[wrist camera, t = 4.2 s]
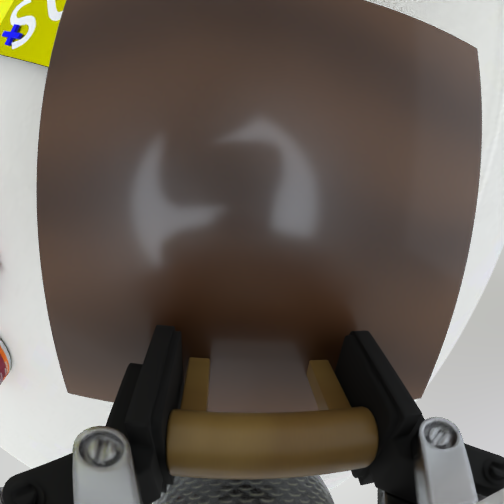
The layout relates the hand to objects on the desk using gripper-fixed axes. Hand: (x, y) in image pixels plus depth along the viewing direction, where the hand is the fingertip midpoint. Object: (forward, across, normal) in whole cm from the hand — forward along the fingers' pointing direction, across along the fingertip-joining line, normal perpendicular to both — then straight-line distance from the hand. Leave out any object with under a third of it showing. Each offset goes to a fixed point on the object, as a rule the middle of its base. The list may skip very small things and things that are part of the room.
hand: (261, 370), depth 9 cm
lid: (+2, 0, -5) cm, 5 cm away
